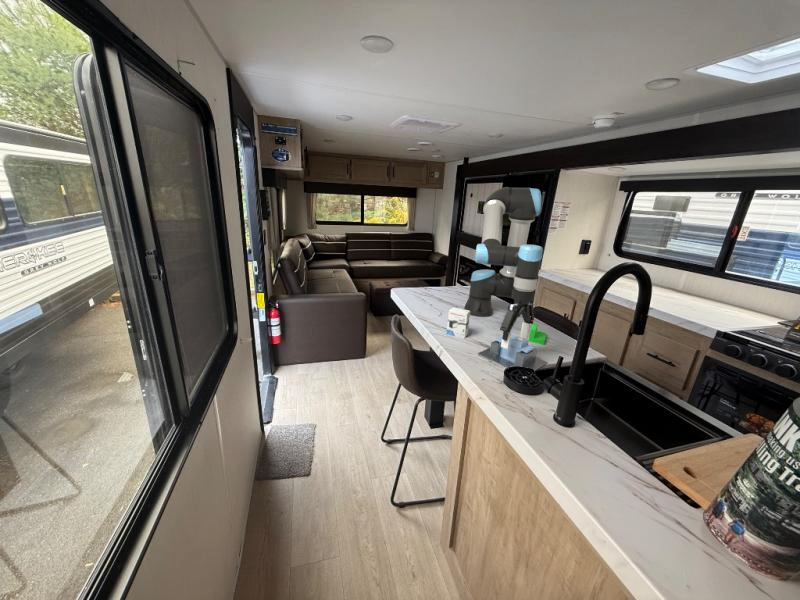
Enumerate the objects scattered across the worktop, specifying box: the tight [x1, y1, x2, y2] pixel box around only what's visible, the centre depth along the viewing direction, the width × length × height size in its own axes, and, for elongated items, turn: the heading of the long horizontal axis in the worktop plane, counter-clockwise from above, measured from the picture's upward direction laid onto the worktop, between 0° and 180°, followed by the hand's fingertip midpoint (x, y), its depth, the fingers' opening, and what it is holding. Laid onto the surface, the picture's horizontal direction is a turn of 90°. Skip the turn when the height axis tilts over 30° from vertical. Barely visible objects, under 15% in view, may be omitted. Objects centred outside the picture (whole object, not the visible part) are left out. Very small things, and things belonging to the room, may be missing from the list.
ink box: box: [445, 306, 471, 340], centre depth 135 cm, size 8×5×12 cm, turn 62°
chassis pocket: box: [477, 340, 548, 372], centre depth 117 cm, size 16×20×6 cm
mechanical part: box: [528, 322, 547, 346], centre depth 137 cm, size 12×6×8 cm, turn 149°
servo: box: [495, 333, 535, 362], centre depth 116 cm, size 5×13×9 cm, turn 41°
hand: (514, 343), depth 116 cm, fingers open, 13 cm apart
